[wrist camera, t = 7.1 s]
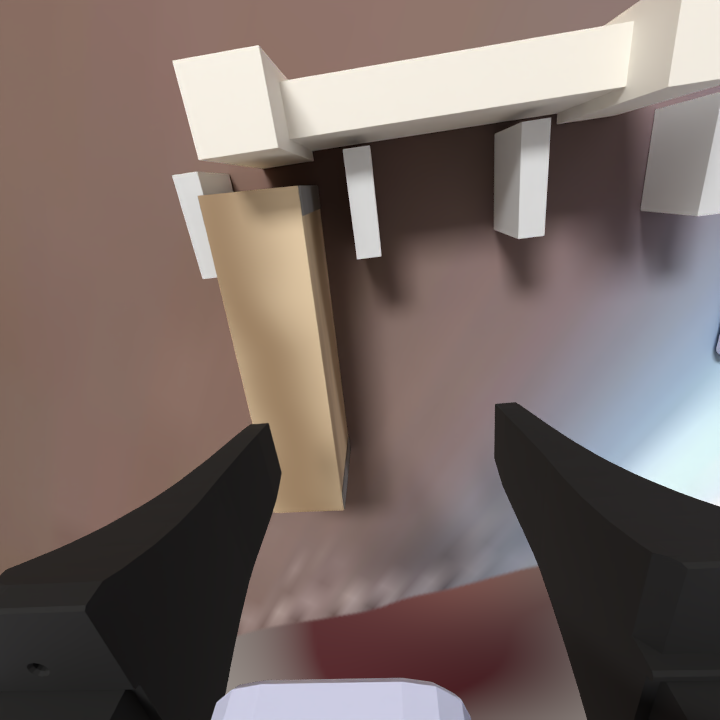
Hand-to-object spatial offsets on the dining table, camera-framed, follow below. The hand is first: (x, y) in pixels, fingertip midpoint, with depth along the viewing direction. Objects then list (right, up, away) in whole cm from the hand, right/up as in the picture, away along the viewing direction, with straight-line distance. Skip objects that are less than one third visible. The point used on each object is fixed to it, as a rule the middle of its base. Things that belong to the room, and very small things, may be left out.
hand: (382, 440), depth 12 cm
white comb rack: (+3, +11, +5) cm, 13 cm away
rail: (-4, +4, +9) cm, 10 cm away
